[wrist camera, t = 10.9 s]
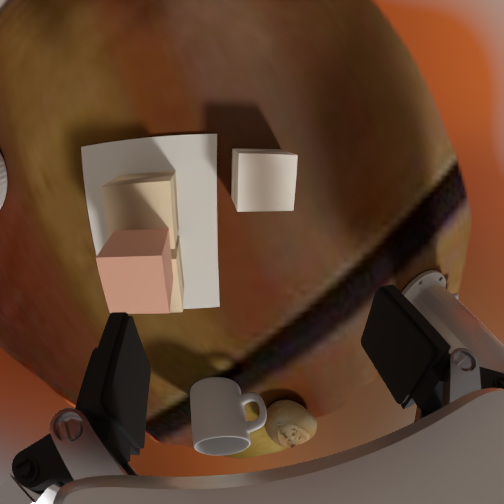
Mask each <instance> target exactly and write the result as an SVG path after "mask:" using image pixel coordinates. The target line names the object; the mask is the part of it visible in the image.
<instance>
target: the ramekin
mask: <svg viewBox="0 0 504 504" xmlns="http://www.w3.org/2000/svg"><path fill="white" fill-rule="evenodd" d="M6 192H7V170H6V165H5V162H4V159H3V157H2V155H1V154H0V209H1V207H2V205H3V202H4V200H5V197H6Z"/></svg>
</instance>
